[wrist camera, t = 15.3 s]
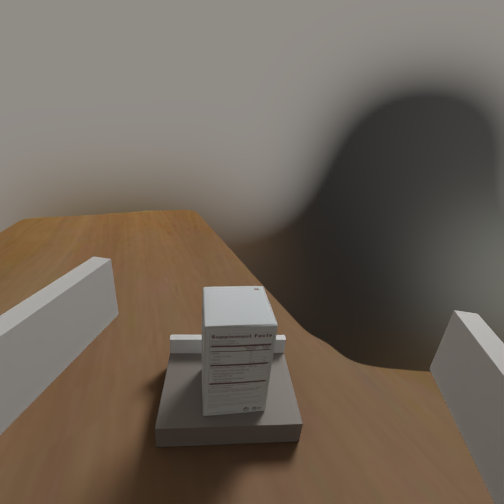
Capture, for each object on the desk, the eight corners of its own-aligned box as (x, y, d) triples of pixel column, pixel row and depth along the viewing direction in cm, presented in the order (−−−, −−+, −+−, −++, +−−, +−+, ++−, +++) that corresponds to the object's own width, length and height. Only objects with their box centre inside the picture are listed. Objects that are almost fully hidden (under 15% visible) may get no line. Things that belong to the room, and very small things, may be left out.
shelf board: (279, 361, 46) (284, 333, 44) (298, 441, 35) (306, 408, 32) (172, 362, 44) (171, 332, 42) (155, 447, 33) (153, 413, 31)
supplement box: (200, 367, 40) (202, 284, 34) (255, 364, 41) (265, 284, 36) (200, 418, 33) (202, 325, 28) (266, 413, 34) (280, 323, 29)
